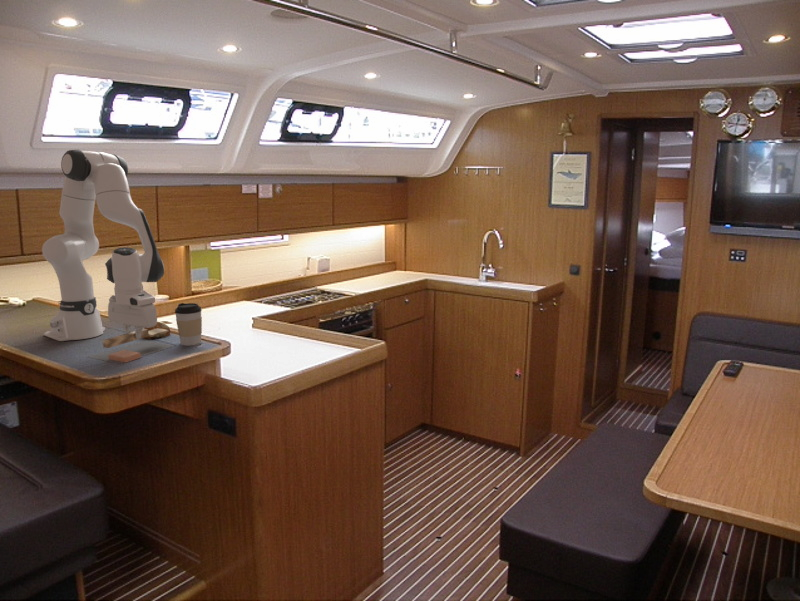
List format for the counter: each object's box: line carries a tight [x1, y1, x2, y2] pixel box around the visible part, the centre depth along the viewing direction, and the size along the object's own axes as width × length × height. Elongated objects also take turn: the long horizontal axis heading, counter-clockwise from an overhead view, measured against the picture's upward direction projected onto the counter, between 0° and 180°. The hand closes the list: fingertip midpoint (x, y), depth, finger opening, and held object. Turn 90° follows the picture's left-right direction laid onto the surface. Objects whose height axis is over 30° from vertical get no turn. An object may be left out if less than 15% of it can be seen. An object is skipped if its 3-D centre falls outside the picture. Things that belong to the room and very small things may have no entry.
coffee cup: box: [174, 302, 203, 348], centre depth 227 cm, size 9×9×15 cm
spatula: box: [102, 328, 169, 349], centre depth 217 cm, size 23×6×2 cm, turn 151°
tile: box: [109, 350, 142, 363], centre depth 211 cm, size 2×6×8 cm
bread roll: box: [143, 321, 171, 340], centre depth 240 cm, size 10×10×8 cm
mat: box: [88, 339, 177, 365], centre depth 219 cm, size 16×23×1 cm
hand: (134, 337), depth 217 cm, fingers closed on spatula, 2 cm apart
